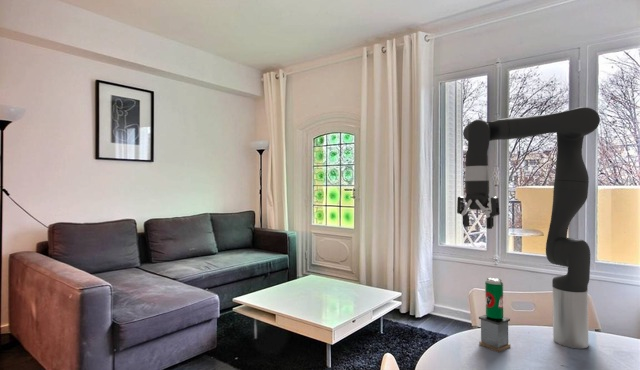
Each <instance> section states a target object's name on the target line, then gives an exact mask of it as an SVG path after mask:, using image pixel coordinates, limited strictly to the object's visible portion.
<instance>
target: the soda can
mask: <svg viewBox="0 0 640 370" xmlns="http://www.w3.org/2000/svg"><path fill="white" fill-rule="evenodd" d="M484 287H485V288H484V289H485V290H484V293H485V315H486V316H487V317H488V318H489V319H492V320H501V319H503V317H505V316H504V314H505V313H504V311H505V310H504V283H503V280H502V279H501V278H496V277H487V278H486V279H485V284H484Z"/></svg>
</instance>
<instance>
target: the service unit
mask: <svg viewBox="0 0 640 370" xmlns="http://www.w3.org/2000/svg"><path fill="white" fill-rule="evenodd" d="M478 319H479V320H480V341H478V344H479V346H480V347H481V346H482V347H484V348H486V349H489V350H492V351H493V352H497V353H501V352H503V351H505V350H507V349H509V348H511V343H510V342H509V322H511V318H508V317H506V316H504V317H503V319H501V320H492V319H489V318H488V317H487V316H486V314H484V315H481V316H478Z"/></svg>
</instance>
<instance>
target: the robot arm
mask: <svg viewBox="0 0 640 370" xmlns="http://www.w3.org/2000/svg"><path fill="white" fill-rule="evenodd" d="M600 118H601V117H600V115H599V113H598V112H597V111H596V110H595V109H594V108H592V107H587V106H580V107H576V108H573V109H569V110H568V109H567V110H564V111H559V112H554V113H550V114H549V113H548V114H540V115H531V116H530V115H529V116H519V117H518V116H517V117H508V118H505V117H504V118H501V119H500V118H499V119H497V120H492V121H485V120H483V119H475V120H471V122H470V123H468V124H467V125H466V126H465V127H464V129H463V132H462V135H463V138H464V139H465V140H466V141H467V150H466V152H465V171H464V193H465V196H458V197H457V204H456V207H457V208H456V213H457V214H459V215H461V216H462V225H463V227H465V228H466V227H467V228H469V227H470V214H471V212H472V211H473V210H474V211H475V210H478V211H482V212H483V213H484V214H485V216H486V221H485V223H486V225H485V226H486V229H487V230H491V229H493V228H494V225H495V223H494V219H495V217H497V216H500V214H501V213H500V201H499V200H500V199H499V197H498V196H491V197H490V195H489V194H490V169H489V146H490V141H497V140H498V141H499V140H517V139H518V140H519V139H525V138H530V137H536V136H541V135H546V134H553V133H556V144H557V145H556V147H557V148H556V149H557V150H556V151H557V152H556V159H555V160H556V163H555V173H554V181H553V190H552V191H553V192H552V193H553V196H552V207H551V216H550V223H549V228H548V233H547V236H546V243H545V257H546V259H547V261H548V262H549V263H550V264H552V265H556V266H562V267H567V273H566V274H565V275H559V276H554V277H553V278H552V282H551V284H552V285H551V286H552V329H553V330H552V339H553V341H554V342H555V343H557V344H559V345H561V346H564V347H567V348H572V349H587V348H589V301H588V300H589V298H588V295H589V294H588V291H589V289H588V287H589V286H588V285H589V283H590V277H591V275H590V273H591V248H590V246H589V244H588V242H586V241H585V240H584V239H579V238H572V237H568V232H569V231H568V230H569V226H570V224H571V222H572V221H573V218H574V217H575V215H577V214H578V212H579V211H580V210H581V209H582V207H583V206H584V205H585V203H586V202H587V199H588V196H589V195H588V193H589V182H590V181H589V180H590V177H589V173H588V169H587V167H586V165H585V161H584V159H583V143H584V138H585V136H587V135H589V134H591V133H593V132H594V131H595V130H596V129H597V128H598V127H599V125H600V124H601V119H600ZM489 204H490V205H489Z"/></svg>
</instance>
